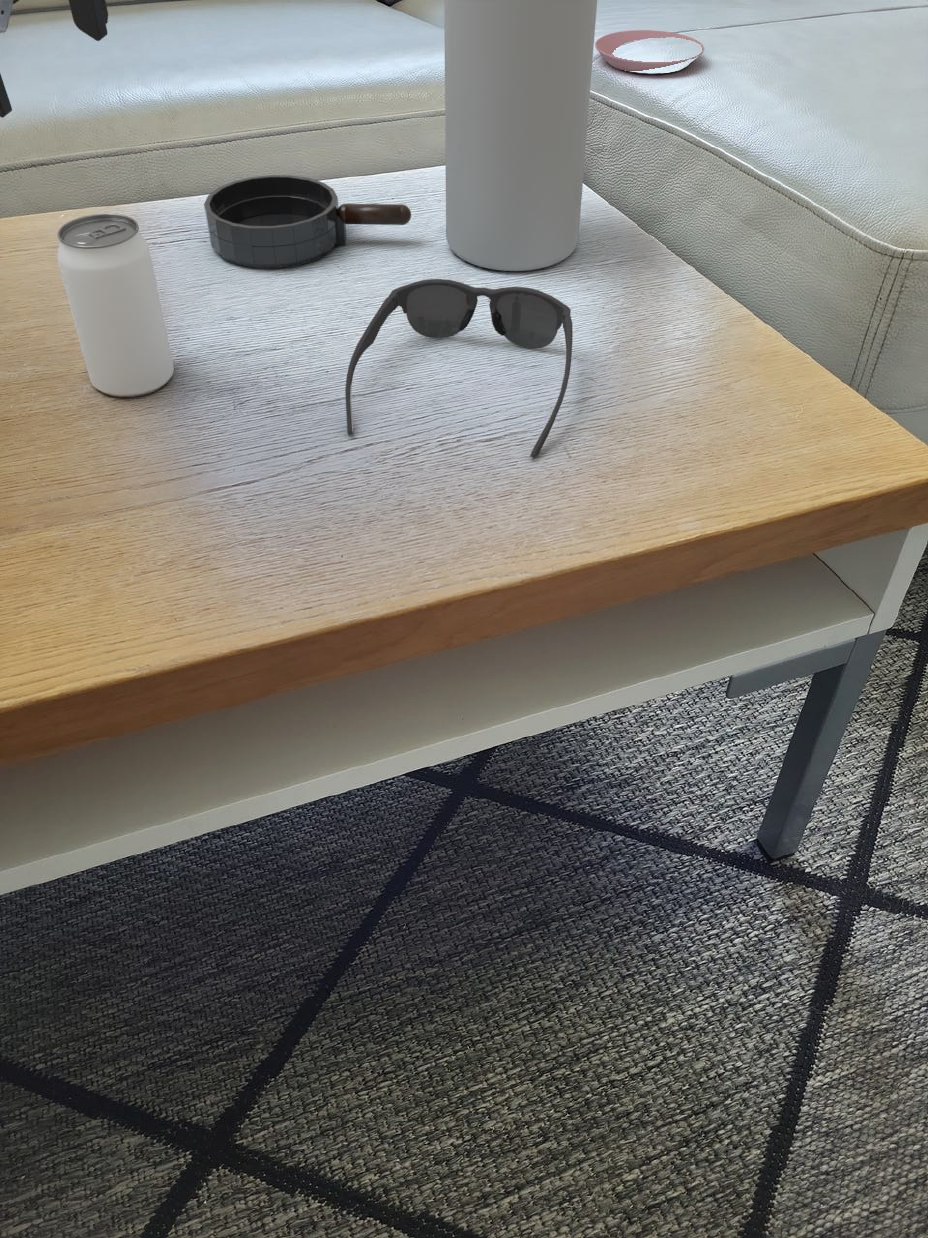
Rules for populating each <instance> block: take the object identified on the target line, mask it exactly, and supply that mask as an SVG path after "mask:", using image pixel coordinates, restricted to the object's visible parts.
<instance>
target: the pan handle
mask: <svg viewBox="0 0 928 1238" xmlns="http://www.w3.org/2000/svg"><path fill="white" fill-rule="evenodd" d="M338 207H339V208H338V209H337V225H338V237H339V240H338V242H337V243H336V244H335V245H334V246H335V247H336V246H339V247H341V246H342V247H343V246H345V247H346V245H347V240H348V236H347V235H348V234H347V225H369V226H370V225H372V226H375V225H377V226H380V225H381V226H404V225H407V224H409V222H410V221H411V219H412V211H411V209H410V207H408V206H407V205H406V204H401V203H398V204H395V203H393V204H392V203H342V204H341V205H338ZM334 246H333V247H334Z"/></svg>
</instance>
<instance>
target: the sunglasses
mask: <svg viewBox="0 0 928 1238" xmlns="http://www.w3.org/2000/svg"><path fill="white" fill-rule="evenodd" d="M481 296H482V297H486V298H488V299H489V304H488V305H489V311H490V316H491V323H492V327H493V328H494V330H495V331H496V333H497V334H498V335H500V336H504V338H505V339H507V340H508V341H509V342H510V343H512V344H513V345H515V346H517V347H520V348H523V349H531V350H538V349H543V348H545V347H547V346H549V345H551V344H552V342H553V341H554V340H555V338H556V336H557V334H558V331H559V330H560V329H561V327H562V328H563V333H564V339H565V341H564V342H565V367H564V374H563V379H562V384H561V387H560V391H559V395H558V397H557V400H556V403H555V406H554V408H553V410H552V411H551V414H550V416H549V418H548V419H547V420H548V421H547V422H546V425H545V426H544V428H543V430H542V432H541V433H540V435H539V437H538V439H537V441H536V442H535V444H534V446H533V448H532V450H531V452H530V458H535V457H537V456H538V455H539V454H540V452H541V451H542V448H543V447H544V444H545V442H546V440H547V439H548V437H549V434H550V433H551V429H552V427H553V425H554V423H555V421H556V418H557V416H558V413H559V411H560V409H561V406H562V404H563V400H564V397H565V394H566V391H567V388H568V383H569V378H570V375H571V367H572V356H573V355H572V354H573V337H574V336H573V335H574V331H573V320H572V315H571V314H572V313H571V308H570V307H569V306H568V305H566V304H565V303H563V302H562V301H561V300H559V299H557V298H556V297H554V296H552V295H550V294H548V293H546V292H544V291H541V290H539V289H536V288H531V287H526V286H525V287H523V286H507V287H500V288H499V287H498V288H495V289H494V288H487V287H474V286H471V285H468V284H466V283H463V282H461V281H456V280H452V279H443V278H429V279H422V280H419V281H414V282H411V283H408V284H405V285H402V286H399V287H397V288H394V289H392V290H391V292H390V294H388V296H387V297H386V298H385V299H384V300H383V302H382V304H381V305H380V307H379V308H378V310H377V311H376V313H375V314H374V316H373V317H372V319H371V320H370V322H369V324H368V326H367V327H366V329H365V330H364V332H363V334H362V335H361V337H360V339H359V341H358V343H357V344H356V346H355V349H354V351H353V354H352V356H351V358H350V361H349V365H348V368H347V372H346V380H345V391H344V392H345V393H344V394H345V413H346V431H347V435H349V436H352V435H353V433H354V431H353V430H354V419H353V404H352V399H353V397H352V395H353V394H352V393H353V391H352V390H353V379H354V374H355V370H356V367H357V365H358V364H359V363H358V362H359V360H360V359H361V357H362V355H363V354H364V353H365V352H366V351H367V350H368V348H369V347H371V346H372V345H373V344H374V343H375V341H376V338H377V336H378V335H379V333H380V330H381V328H382V327H383V325H384V323H385V322H386V320H387V319H388V317H389V316H391V314H392V313H393V312H394V311H395V310H396V309H397V308H398V307H401V309H402V312H403V314H405V315H406V319H407V321H408V324H409V325H410V327H411V329H412V330H413V331H414V332H416V333H417V334H419V335H420V336H423V337H425V338H431V339H448V338H450V337H453V336H456V335H457V334H459V333H460V332H463V331H464V330H465V329H467V327H468V325H469V324H470V322H471V320H472V318H473V316H474V314H475V311H476V308H477V306H478V301H479V299H478V298H479V297H481Z"/></svg>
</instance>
